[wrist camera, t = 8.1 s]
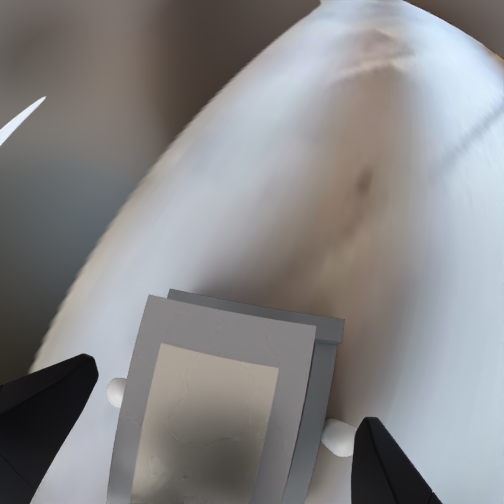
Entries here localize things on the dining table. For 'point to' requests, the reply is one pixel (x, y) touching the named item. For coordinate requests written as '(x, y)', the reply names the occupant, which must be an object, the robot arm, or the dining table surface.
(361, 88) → the dining table surface
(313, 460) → the dock
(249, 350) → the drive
